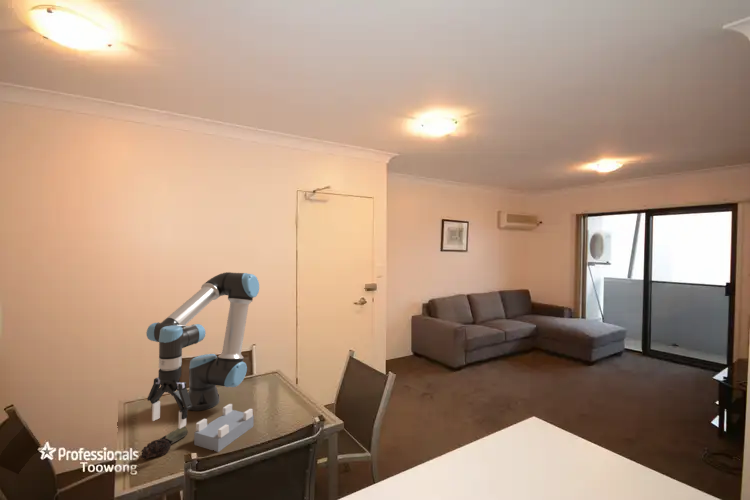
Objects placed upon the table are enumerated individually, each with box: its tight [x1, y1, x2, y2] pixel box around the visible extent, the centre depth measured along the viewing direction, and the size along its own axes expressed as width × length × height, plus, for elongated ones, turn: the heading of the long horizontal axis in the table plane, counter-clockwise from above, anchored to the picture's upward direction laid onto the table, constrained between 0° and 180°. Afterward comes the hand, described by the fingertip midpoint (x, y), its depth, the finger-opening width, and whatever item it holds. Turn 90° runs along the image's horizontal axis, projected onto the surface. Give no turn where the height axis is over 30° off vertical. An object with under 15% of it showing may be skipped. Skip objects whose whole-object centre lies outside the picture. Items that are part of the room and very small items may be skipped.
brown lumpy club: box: [139, 426, 189, 460], centre depth 135 cm, size 18×7×6 cm, turn 163°
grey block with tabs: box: [193, 403, 255, 453], centre depth 145 cm, size 12×20×8 cm, turn 160°
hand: (168, 423), depth 134 cm, fingers open, 13 cm apart
